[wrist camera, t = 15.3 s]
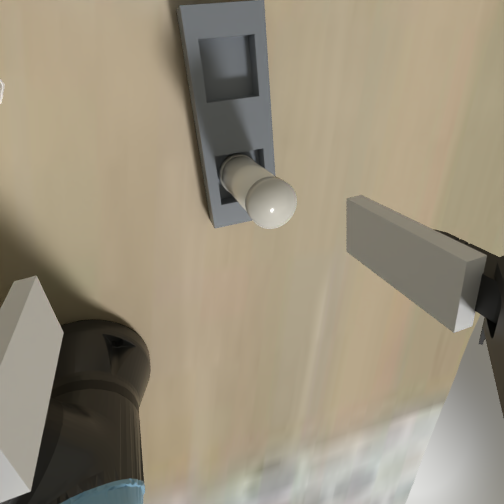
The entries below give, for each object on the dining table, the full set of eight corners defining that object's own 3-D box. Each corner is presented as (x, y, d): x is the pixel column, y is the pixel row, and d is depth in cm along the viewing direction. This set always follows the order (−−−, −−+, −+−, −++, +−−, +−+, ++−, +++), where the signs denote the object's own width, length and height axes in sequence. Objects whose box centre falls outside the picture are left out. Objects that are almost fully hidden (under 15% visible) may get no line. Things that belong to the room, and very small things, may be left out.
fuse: (221, 195, 43) (251, 233, 33) (215, 156, 41) (246, 184, 31) (257, 187, 44) (297, 223, 34) (253, 150, 42) (295, 175, 32)
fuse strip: (210, 220, 45) (214, 228, 43) (176, 9, 35) (179, 5, 32) (270, 208, 47) (277, 214, 45) (255, 3, 36) (263, -1, 34)
